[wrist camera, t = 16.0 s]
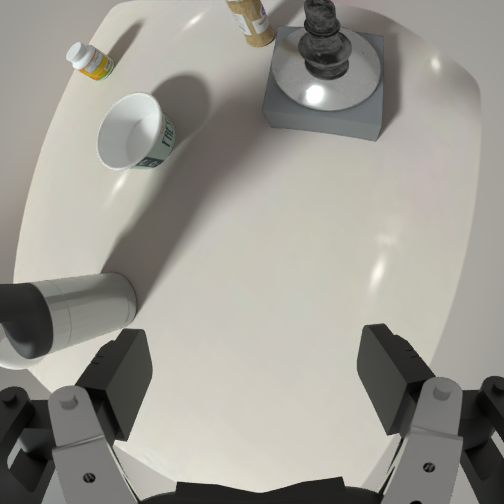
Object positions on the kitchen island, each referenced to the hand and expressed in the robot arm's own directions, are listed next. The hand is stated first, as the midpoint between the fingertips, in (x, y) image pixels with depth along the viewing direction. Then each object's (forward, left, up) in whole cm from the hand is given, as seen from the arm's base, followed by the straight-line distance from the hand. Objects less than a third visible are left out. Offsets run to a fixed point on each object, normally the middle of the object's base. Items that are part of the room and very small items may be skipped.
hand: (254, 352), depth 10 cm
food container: (-28, +15, -28) cm, 42 cm away
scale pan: (-2, +25, -24) cm, 35 cm away
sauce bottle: (-51, -27, -28) cm, 64 cm away
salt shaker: (-1, +25, -21) cm, 33 cm away
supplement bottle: (-45, +31, -28) cm, 61 cm away
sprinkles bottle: (-13, +35, -28) cm, 46 cm away
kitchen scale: (-2, +25, -28) cm, 38 cm away
